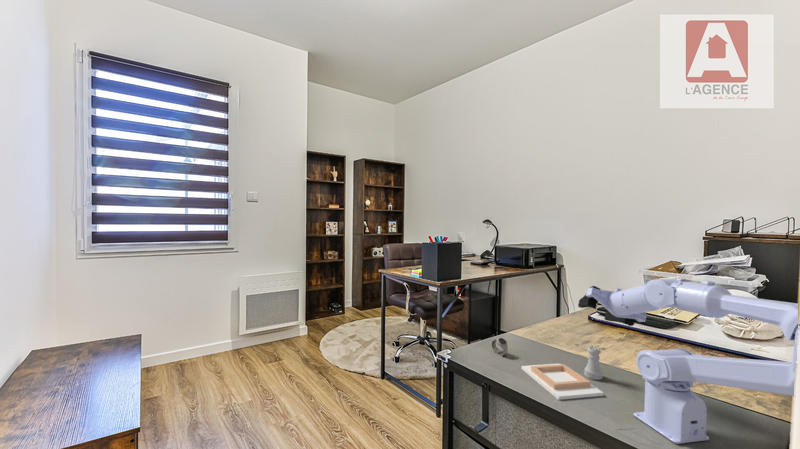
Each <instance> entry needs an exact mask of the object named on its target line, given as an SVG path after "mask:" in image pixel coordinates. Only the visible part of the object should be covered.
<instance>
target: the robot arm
mask: <svg viewBox="0 0 800 449" xmlns="http://www.w3.org/2000/svg"><path fill="white" fill-rule="evenodd" d="M597 304H600V305H602V306H603V307H604V309H605V310H607V311H606V312H605V315H604V320H605V321H607V322H615V323H621V324H624V325H627V326H629V327H633V326H635V321H637V322H638V323H643V322H646V321H647V315H648V314H647V313H649V312H654V311H658V310H660V309H661V310H662V309H666V308H667V309H668V308H675V309H677V310H680V311H684V312H689V313H693V314H696V315H697V314H698V315H702V316H706V317H710V318H711V317H712V318H715V319H722V318H724V317H727V316H728V315H729V314H731V315H734V316H738V317H742V318H746V319H751V320H754V321H759V322H763V323H765V324H766V323H767V324H771V325H774V326H778V327H779V328H780V330H781V331H782V333H783V335H784V337H785V339H787V340H788V341H794V344H793V355H792V361H782V360H781V361H779V360H767V359H754V358H753V359H751V358H740V357H739V358H738V357H722V356H710V355H703V354H700V353H695V352H692V351H691V350H688V349H686V348H683V347H682V348H681V347H677V348H674V349H656V350H655V349H654V350H649V349H643V350H641V351H639V352H638V353H637V355H636V361H635V362H636V363H635V364H636V367H637V370H638V372H639V373H640V375H641V376H642V379H643V380H645V382H644V404H643V405H644V406H643V407H644V408H643V409H644V410H643V411H638V412H637V411H636V412H633V414H632V415H633V416H634V417H636V418H637V419H638V420H640V421H641V422H643V423H644V424H646V425H647V426H649V427H650V428H652V429H654V431H656V432H657V433H659V434H661V435H662V436H664V438H666V439H668V440H669V441H671V442H672V443H674V444H677V445H678V444H686V443H688V444H689V443H693V442H694V443H695V442H703V441H709V440H710V437H709V436H708V435H707V418H708V409H707V403H705V401H704V400H703V399H702V398H701V397H699V396H698V395H696V394H695V393H694V392H693V391H692V389H691V387H694V382H695V383H696V382H697V383H702V384H708V385H716V386H722V387H729V388H734V389H735V388H736V389H742V390H748V391H756V392H763V393H770V394H776V395H785V396H789V397H795V396H794V381H795V370H796V361H797V339H798V304H799V303H795V302H789V301H782V300H781V301H780V300H772V299H765V298H758V297H757V298H756V297H750V296H749V297H748V296H741V295H733V294H732V293H731V292H730V291H729V290H728V289H727V288H725V287H723V286H721V285H716V282H715V281H711V280H710V281H708V280H702V281H701V282H700V283H699V282H693V281H687V279H686V278H655V279H651V280H648V281H647V282H646V283H645V284H641V285H638V286H632V287H630V288H626V289H621V288H615V290H614V291H612V290H607V289H606V290H605V289H602V288H600V287H598V286H596V285H592V286H590V287H589V288H587V289H586V294H585V295H584V296H582V297H581V298H580V299H579V300H578V306H577V307H579V308H580V309H584V308H591V309H594V310H597ZM799 326H800V324H799ZM799 330H800V327H799Z"/></svg>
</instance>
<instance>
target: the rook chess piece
mask: <svg viewBox="0 0 800 449" xmlns="http://www.w3.org/2000/svg"><path fill="white" fill-rule="evenodd" d="M586 350H587V352H588V354H587V357H588V361H587V365H586V367H584V369H583V370H584V372H583V375H584V376H585V378H588V379H591V380H593V381H600V380H603V375H604V374H603V371H602V369H601V366H600V358H601V357H600V354H602V351H601V350H600V347H599V346H596V345H588V348H587V349H586Z"/></svg>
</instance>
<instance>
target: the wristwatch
mask: <svg viewBox="0 0 800 449" xmlns="http://www.w3.org/2000/svg"><path fill="white" fill-rule="evenodd" d="M490 343H491V348H492V350H493V352H494V353H495V354H496V353H497V355H498V354H499V355H498V356H500V355H501V356H500V357H505V356H507V354H508V352H509V351H508V341H507V340H506V339H505V338H504V337H496V338H494V339H493V340H492V341H491V342H490ZM496 344H497V345H498V346H499V347H500V348H501V349H502V351H501V350H500V349H499V348H498V347H497V345H496Z"/></svg>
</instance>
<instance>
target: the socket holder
mask: <svg viewBox="0 0 800 449" xmlns="http://www.w3.org/2000/svg"><path fill="white" fill-rule="evenodd" d="M520 368H521V370H522V371H523V372H525V373H526V374H527V375H528V376H529V377H531V378H532V379H533V380H534V381H535V382H537V383H538V384H539V385H540V386H541V387H543V388H544V389H545V390H546V391H547V392H548V393H550V395H552V396H553V397H554V398H556V399H557V400H559V401H560V400H573V399H582V398H593V397H604V392H603V391H602V390H601V389H599V388H597V387H596V386H594V385H593V384H592V383H591V381H590V380H588V379H587V377H584V376H583V375H581V374H579V373H578V372H576V371H575V370H573V369H572V368H571V367H569V366H568V365H566V364H565V363H549V364H547V363H546V364H544V363H543V364H532V365H531V364H530V365H521V367H520Z"/></svg>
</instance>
